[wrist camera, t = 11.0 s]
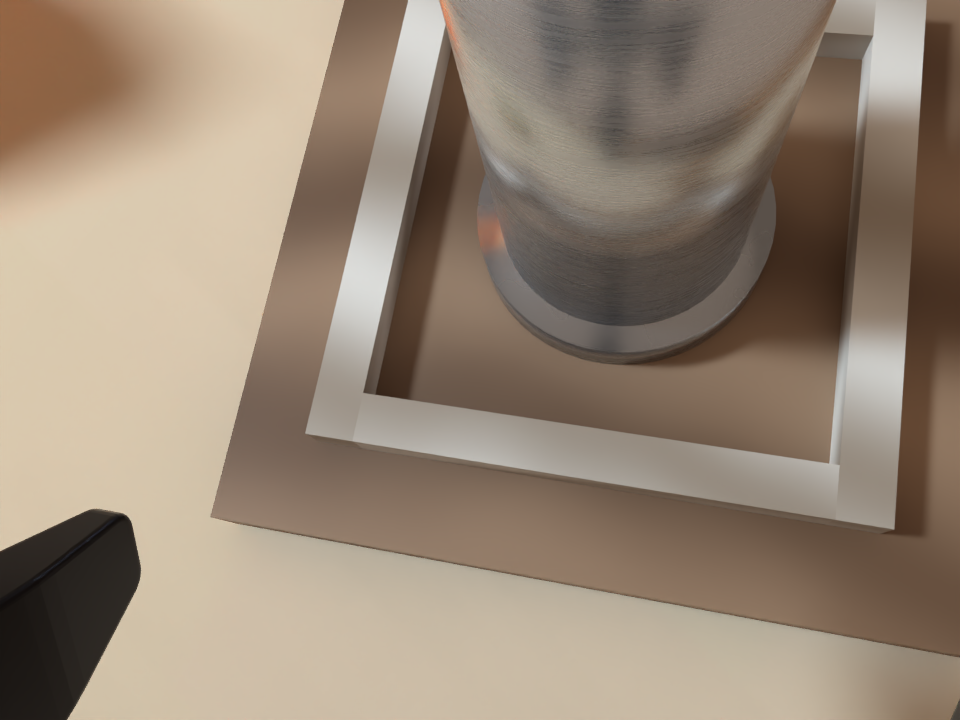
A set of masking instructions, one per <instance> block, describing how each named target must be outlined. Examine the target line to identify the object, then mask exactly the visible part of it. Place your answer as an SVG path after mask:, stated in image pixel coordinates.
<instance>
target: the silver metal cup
mask: <svg viewBox="0 0 960 720" xmlns="http://www.w3.org/2000/svg"><path fill="white" fill-rule="evenodd" d="M439 2H440V6H441V9H442V13H443V17H444V21H445V24H446V28H447V32H448V35H449V39H450V43H451V46H452V50H453V54H454V58H455V61H456V65H457V69H458V72H459V76H460V80H461V83H462V87H463V91H464V95H465V98H466V102H467V106H468V109H469V113H470V117H471V121H472V124H473V128H474V132H475V135H476V139H477V143H478V146H479V150H480V154H481V158H482V161H483V165H484V169H485V172H486V174H485V177H484V179H483V183H482V187H481V191H480V194H479V202H478V210H477V226H478V235H479V241H480V247H481V250H482V253H483V257H484V260H485V263H486V266H487V269H488V272H489V275H490V278H491V281H492V283H493V285H494V287H495V289H496V291H497V293H498V295H499V297H500V299H501V300H502V302H503V303H504V305H505V306H506V308H507V309H508V311H509V312H510V313H511V314H512V315H513V316H514V318H515V319H516V320H517V321H518V322H519V323H520V324H521V325H522V326H523V327H524V328H525V329H527V330H528V331H529V332H530V333H531V334H532V335H534V336H535V337H536V338H538V339H540V340H541V341H543V342H544V343H546V344H547V345H549V346H551V347H553V348H555V349H557V350H559V351H561V352H563V353H565V354H568V355H571V356H574V357H577V358H580V359H583V360H587V361H592V362H598V363H603V364H617V365H628V364H643V363H648V362H654V361H659V360H663V359H666V358H669V357H673V356H676V355H679V354H681V353H683V352H686V351H688V350H690V349H692V348H694V347H696V346H698V345H700V344H701V343H703V342H704V341H706V340H708V339H709V338H711V337H712V336H714V335H715V334H716V333H717V332H718V331H720V330H721V329H722V328H723V327H724V326H726V325H727V324H728V323H729V322H730V321H731V320H732V319H733V317H734V316H735V315H736V314H737V313H738V312H739V311H740V310H741V308H742V307H743V305H744V304H745V302H746V301H747V299H748V298H749V297H750V295H751V293H752V291H753V289H754V287H755V285H756V283H757V281H758V279H759V277H760V274H761V272H762V270H763V268H764V266H765V263H766V261H767V259H768V256H769V252H770V249H771V246H772V243H773V238H774V232H775V226H776V201H775V194H774V187H773V184H772V180H771V177H770V176H771V173H772V171H773V168H774V165H775V163H776V160H777V157H778V155H779V152H780V149H781V147H782V144H783V141H784V139H785V136H786V133H787V131H788V128H789V125H790V123H791V120H792V117H793V115H794V112H795V109H796V107H797V104H798V101H799V99H800V96H801V93H802V91H803V88H804V85H805V83H806V80H807V77H808V75H809V72H810V69H811V67H812V64H813V61H814V59H815V56H816V53H817V51H818V48H819V45H820V43H821V40H822V37H823V35H824V32H825V29H826V27H827V24H828V21H829V19H830V16H831V13H832V11H833V8H834V5H835V3H836V0H439Z"/></svg>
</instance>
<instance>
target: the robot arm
mask: <svg viewBox="0 0 960 720" xmlns="http://www.w3.org/2000/svg"><path fill="white" fill-rule="evenodd" d="M140 575H141V565H140V560H139V556H138V551H137V546H136V541H135V537H134V532H133V527H132V523H131V521H130V519H129V518H128V517H127V515H124V514H123V513H118V512H113V511H107V510H102V509H91V510H88V511H85V512H83V513H81V514H79V515H77V516H75V517H73V518H70V519H68V520H66V521H64V522H62V523H60V524H58V525H55V526H53V527H51V528H49V529H47V530H45V531H43V532H40V533H38V534H36V535H34V536H32V537H30V538H28V539H25V540H23V541H21V542H19V543H17V544H15V545H13V546H11V547H8V548H6V549H4V550H2V551H0V720H67V719H68V717H69V716H70V714H71V712H72V711H73V709H74V707H75V706H76V704H77V702H78V700H79V699H80V697H81V695H82V693H83V691H84V690H85V688H86V686H87V684H88V682H89V680H90V678H91V676H92V674H93V672H94V671H95V669H96V667H97V665H98V663H99V661H100V659H101V657H102V655H103V653H104V651H105V649H106V647H107V645H108V644H109V642H110V640H111V638H112V636H113V634H114V632H115V630H116V628H117V626H118V624H119V622H120V620H121V618H122V617H123V615H124V613H125V611H126V609H127V607H128V605H129V603H130V601H131V599H132V597H133V595H134V593H135V591H136V589H137V587H138V584H139V581H140ZM951 720H960V700H959V702H958V704H957V707H956V709H955V711H954V713H953V716H952V718H951Z"/></svg>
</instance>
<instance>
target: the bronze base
mask: <svg viewBox="0 0 960 720" xmlns="http://www.w3.org/2000/svg"><path fill="white" fill-rule="evenodd" d="M485 174H486V172H485V169H484V165H483V161H482V158H481V154H480V150H479V146H478V143H477V139H476V135H475V132H474V128H473V124H472V121H471V117H470V113H469V109H468V106H467V102H466V98H465V95H464V91H463V87H462V83H461V80H460V76H459V72H458V69H457V65H456V61H455V58H454V54H453V50H452V46H451V43H450V39H449V35H448V32H447V28H446V24H445V21H444V17H443V13H442V9H441V6H440V2H439V0H345V1H344V5H343V9H342V13H341V16H340V20H339V24H338V28H337V32H336V36H335V40H334V43H333V47H332V51H331V55H330V59H329V63H328V67H327V70H326V74H325V78H324V82H323V86H322V90H321V93H320V97H319V101H318V105H317V109H316V113H315V117H314V120H313V124H312V128H311V132H310V136H309V140H308V144H307V147H306V151H305V155H304V159H303V163H302V167H301V170H300V174H299V178H298V182H297V186H296V190H295V194H294V197H293V201H292V205H291V209H290V213H289V217H288V220H287V224H286V228H285V232H284V236H283V240H282V244H281V247H280V251H279V255H278V259H277V263H276V267H275V271H274V274H273V278H272V282H271V286H270V290H269V294H268V297H267V301H266V305H265V309H264V313H263V317H262V321H261V324H260V328H259V332H258V336H257V340H256V344H255V348H254V351H253V355H252V359H251V363H250V367H249V371H248V374H247V378H246V382H245V386H244V390H243V394H242V398H241V401H240V405H239V409H238V413H237V417H236V421H235V424H234V428H233V432H232V436H231V440H230V444H229V448H228V451H227V455H226V459H225V463H224V467H223V471H222V475H221V478H220V482H219V486H218V490H217V494H216V498H215V501H214V505H213V509H212V513H211V517H213V518H217V519H221V520H225V521H229V522H233V523H237V524H243V525H248V526H254V527H259V528H264V529H270V530H275V531H281V532H286V533H291V534H297V535H302V536H308V537H313V538H318V539H324V540H329V541H335V542H340V543H346V544H351V545H356V546H362V547H367V548H373V549H378V550H383V551H389V552H394V553H400V554H405V555H410V556H416V557H421V558H427V559H432V560H437V561H443V562H448V563H454V564H459V565H464V566H470V567H475V568H481V569H486V570H491V571H497V572H502V573H508V574H513V575H518V576H524V577H529V578H535V579H540V580H545V581H551V582H556V583H562V584H567V585H572V586H578V587H583V588H589V589H594V590H599V591H605V592H610V593H616V594H621V595H626V596H632V597H637V598H643V599H648V600H653V601H659V602H664V603H670V604H675V605H680V606H686V607H691V608H697V609H702V610H707V611H713V612H718V613H724V614H729V615H734V616H740V617H745V618H751V619H756V620H761V621H767V622H772V623H778V624H783V625H788V626H794V627H799V628H805V629H810V630H815V631H821V632H826V633H832V634H837V635H842V636H848V637H853V638H859V639H864V640H869V641H875V642H880V643H886V644H891V645H896V646H902V647H907V648H913V649H918V650H923V651H929V652H934V653H940V654H945V655H950V656H956V657H960V0H836V3H835V5H834V8H833V11H832V13H831V16H830V19H829V21H828V24H827V27H826V29H825V32H824V35H823V37H822V40H821V43H820V45H819V48H818V51H817V53H816V56H815V59H814V61H813V64H812V67H811V69H810V72H809V75H808V77H807V80H806V83H805V85H804V88H803V91H802V93H801V96H800V99H799V101H798V104H797V107H796V109H795V112H794V115H793V117H792V120H791V123H790V125H789V128H788V131H787V133H786V136H785V139H784V141H783V144H782V147H781V149H780V152H779V155H778V157H777V160H776V163H775V165H774V168H773V171H772V173H771V176H770V177H771V180H772V184H773V187H774V194H775V201H776V226H775V232H774V238H773V243H772V246H771V249H770V252H769V256H768V259H767V261H766V263H765V266H764V268H763V270H762V272H761V274H760V277H759V279H758V281H757V283H756V285H755V287H754V289H753V291H752V293H751V295H750V297H749V298H748V299H747V301H746V302H745V304H744V305H743V307H742V308H741V310H740V311H739V312H738V313H737V314H736V315H735V316H734V317H733V319H732V320H731V321H730V322H729V323H728V324H727V325H726V326H724V327H723V328H722V329H721V330H720V331H718V332H717V333H716V334H715V335H714V336H712V337H711V338H709V339H708V340H706V341H704V342H703V343H701V344H700V345H698V346H696V347H694V348H692V349H690V350H688V351H686V352H683V353H681V354H679V355H676V356H673V357H669V358H666V359H663V360H659V361H654V362H648V363H643V364H628V365H617V364H603V363H598V362H592V361H587V360H583V359H580V358H577V357H574V356H571V355H568V354H565V353H563V352H561V351H559V350H557V349H555V348H553V347H551V346H549V345H547V344H546V343H544V342H543V341H541V340H540V339H538V338H536V337H535V336H534V335H532V334H531V333H530V332H529V331H528V330H527V329H525V328H524V327H523V326H522V325H521V324H520V323H519V322H518V321H517V320H516V319H515V318H514V316H513V315H512V314H511V313H510V312H509V311H508V309H507V308H506V306H505V305H504V303H503V302H502V300H501V299H500V297H499V295H498V293H497V291H496V289H495V287H494V285H493V283H492V281H491V278H490V275H489V272H488V269H487V266H486V263H485V260H484V257H483V253H482V250H481V247H480V241H479V235H478V226H477V210H478V202H479V194H480V191H481V187H482V183H483V179H484V177H485Z"/></svg>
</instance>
